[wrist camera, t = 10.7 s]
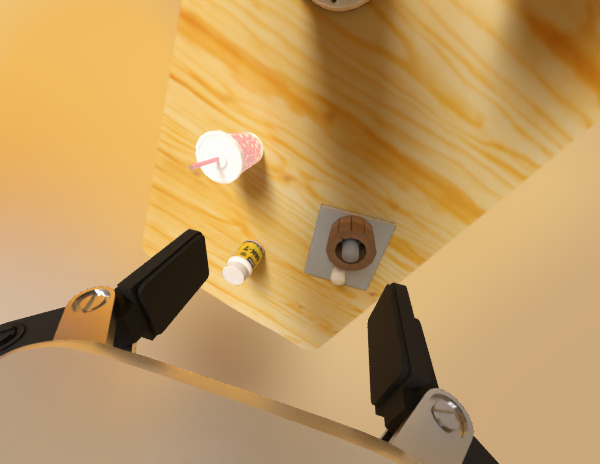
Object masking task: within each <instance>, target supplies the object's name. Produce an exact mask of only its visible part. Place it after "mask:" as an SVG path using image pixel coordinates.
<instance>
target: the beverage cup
mask: <svg viewBox="0 0 600 464" xmlns="http://www.w3.org/2000/svg"><path fill="white" fill-rule="evenodd" d="M263 151H264V150H263V144H262V142H261V140H260V139H259V138H258V137H257V136H256V135H255V134H252V133H225V132H222V131H209V132H206V133H205V134H203V135H202V136H200V138H199V140H198V142H197V144H196V158H197V161H198V163H195V164H192V165H190V166H189V168H190V169H191V170H193V169H196V168H199V167H200V168H201V169H202V171H203V172H204V174H205V175H207V176H208V177H209V178H210V179H211V180H213V181H216V182H218V183H230V182H232V181H234V180H236V179H237V178H239V176H240V175H241V173H242V172H244V171H245V170H247V169H248V168H250V167H251V166H253V165H254V164H256V163H257V162H258V161H260V159H261V158H262V156H263Z"/></svg>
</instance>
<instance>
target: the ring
mask: <svg viewBox="0 0 600 464" xmlns="http://www.w3.org/2000/svg"><path fill="white" fill-rule="evenodd" d="M348 238H353V239H357V240H360V241H361V242H362V243H361V244H359V258H358V260H357V261H355V262H352V263H349V262H346V261H344V260H343V258H342V246H343V244H342V243H341V242H340V241H341V240H343V239H348ZM326 253H327V256H328V259H329V261H330V262H331V263H332V264H334V265H335V266H336V267H337V268H339V269H343V270H346V271H358V270H362V269H364V268H366V267H367V266H369V265H370V264H372V263H373V260H374V258H375V256H376V254H377V251H376V244H375V238H374V233H373V228H372V225H371V224H370V223H369V222H367V221H366V220H365V219H363V218H362V217H358V216H355V215H352V216H351V215H349V216H344V217H341V218H339V219H338V220H337V221H335V222H334V223H333V224H332V226H331V229H330V233H329V237H328V241H327V246H326Z"/></svg>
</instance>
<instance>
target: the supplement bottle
mask: <svg viewBox="0 0 600 464" xmlns="http://www.w3.org/2000/svg"><path fill="white" fill-rule="evenodd" d="M263 256H264V249H263V247H262V245H261V244H260V243H258V242H257V241H254V240H247V241H245V242H244V243H243V244H242V245H241V246H240V247H239V249H238V250H237V251H236V252H235V253H234V254H233V255H232V256H231V257H230V259H229V260H228V262H227V265H226V266H225V268H224V269H223V277H224V278H225V280H226V281H228V282H229V283H231V284H233V285H240V284H242V283H243V282H244V281H245V279H246V278H248V277H249V276H250V275H251V274H252V273H253V271H254V270H255V268H256V267H257V265H258V264H259V262H260V261H261V259H262V258H263Z"/></svg>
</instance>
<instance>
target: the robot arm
mask: <svg viewBox="0 0 600 464" xmlns="http://www.w3.org/2000/svg"><path fill="white" fill-rule="evenodd" d="M311 1H313V2H314V3H315V4H316V5H318V6H320V7H322V8H324V9H327V10H331V11H348V10H351V9H354V8H358V7H359V6H361V5H363V4H365V3H367V2H369V1H370V0H336V2H335V3H332V0H311ZM208 276H209V268H208V260H207V252H206V244H205V237H204V236H203V235H202V233H201V232H199V231H195V230H191V229H188V230H187V231H185V232H184V233H183V234H182V235H180V236H179V237H178V238H176V239H175V240H174V241H173V242H171V243H170V244H169V245H168V246H166V247H165V248H164V249H162V250H161V251H160V252H159V253H157V254H156V255H155V256H153V257H152V258H151V259H150V260H148V261H147V262H146V263H144V264H143V265H142V266H141V267H139V268H138V269H137V270H136V271H134V272H133V273H132V274H131V275H129V276H128V277H127V278H125V279H124V280H123V281H122V282H120V283H119V284H118V287H117V288H115V290H113V289H112V288H110V287H108V286H98V287H93V288H90V289H87V290H85V291H83V292H80V293H79V294H77V295H76V296H74V297H73V298H72V299H71V300H70V301H69V302H68V304H67V305H66V307H63V308H60V309H56V310H52V311H48V312H44V313H41V314H37V315H33V316H30V317H26V318H22V319H18V320H15V321H11V322H7V323H4V324H1V325H0V464H499V463H498V462H497V461H496V460H495V459H494V458H493V457H492V456H491V454H490V453H489V452H488V451H487V450H486V449H485V448H484V447H483V446H482V444H480V442H479V441H478V440H477V439H476V438H475V437H474V436H473V433H474V431H473V425H472V422H471V419H470V417H469V415H468V413H467V411H466V410H465V408H464V407H463V406H462V404H461V403H460V402H459V401H458V400H457V399H456V398H455V397H454V396H452V395H451V394H450V393H448V392H446V391H444V390H442V389H439V387H438V384H437V380H436V377H435V373H434V369H433V366H432V362H431V359H430V355H429V351H428V348H427V344H426V341H425V337H424V334H423V330H422V327H421V324H420V321H419V320H418V319H416V318H414V314H413V310H412V306H411V302H410V298H409V294H408V291H407V288H406V286H404V285H400V284H397V283H391V285H387V286H386V287H385V289H384V291H383V293H382V295H381V297H380V298H379V300H378V302H377V304H376V306H375V308H374V310H373V311H372V313H371V315H370V317H369V319H368V347H369V370H370V391H371V403H372V404H373V405H375V411H376V415H379V416H382V417H384V420H385V427H386V428H387V429H386V431H385V432H384V433H383V435H382V436H381V438H380V439H379V438H376V437H374V436H372V435H369V434H367V433H364V432H362V431H359V430H357V429H354V428H351V427H348V426H346V425H343V424H340V423H337V422H335V421H332V420H329V419H327V418H323V417H321V416H318V415H315V414H312V413H309V412H306V411H304V410H301V409H298V408H295V407H292V406H289V405H286V404H283V403H280V402H278V401H275V400H272V399H269V398H266V397H263V396H260V395H257V394H254V393H252V392H249V391H246V390H243V389H240V388H236V387H234V386H231V385H228V384H225V383H222V382H219V381H216V380H213V379H210V378H208V377H205V376H201V375H198V374H196V373H193V372H190V371H187V370H184V369H181V368H178V367H175V366H172V365H169V364H166V363H163V362H160V361H157V360H154V359H151V358H148V357H145V356H142V355H139V354H136V347H137V341H138V340H139V339H140V338H141V337H143V338H146V339H149V340H153V339H154V338H155V337H156V336H157V335H159V334H161V333H162V332H163V331H164V330H165V329H166V328H167V327H168V325H169V324H170V323H171V322H172V320H173V319H174V318H175V317H176V316H177V315H178V313H179V312H180V311H181V310H182V309H183V307H184V306H185V305H186V304H187V302H188V301H189V300H190V299H191V298H192V296H193V295H194V294H195V293H196V292H197V290H198V289H199V288H200V287H201V286H202V284H203V283H204V282H205V281H206V280H207V278H208Z"/></svg>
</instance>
